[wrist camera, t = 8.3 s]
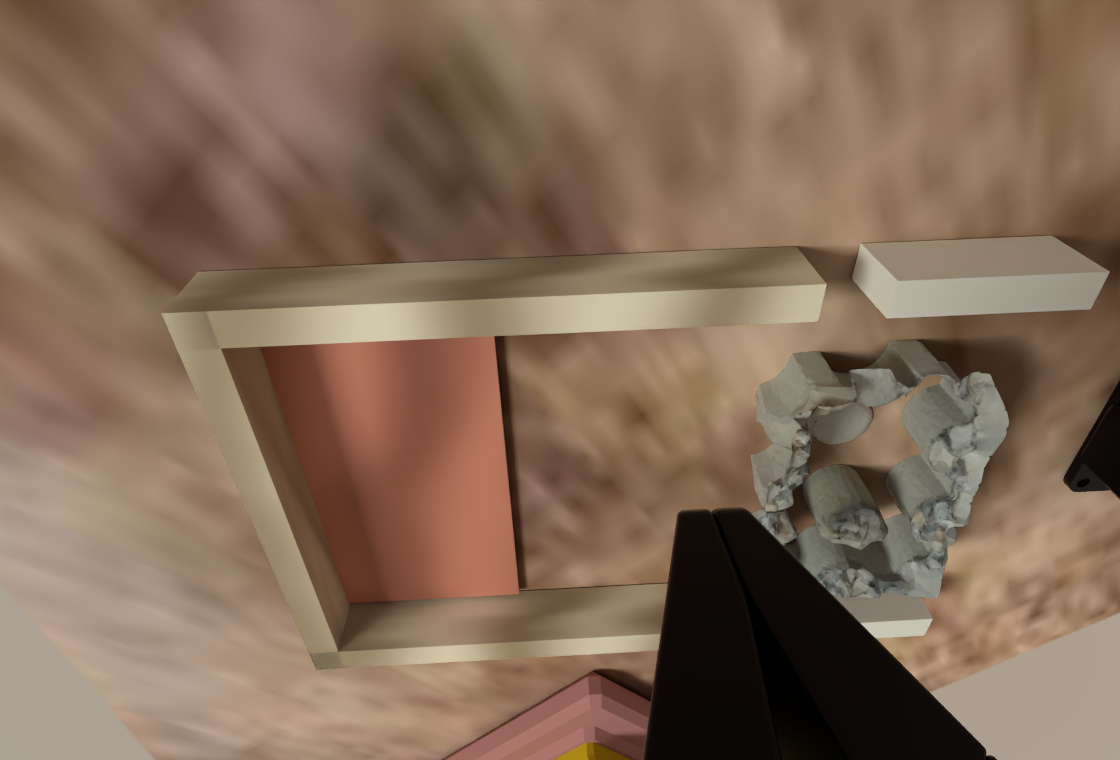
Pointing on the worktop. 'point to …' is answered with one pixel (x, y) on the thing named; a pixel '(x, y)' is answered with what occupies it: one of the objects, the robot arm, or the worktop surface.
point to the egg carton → (915, 483)
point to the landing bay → (964, 289)
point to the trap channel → (430, 434)
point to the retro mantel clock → (571, 727)
